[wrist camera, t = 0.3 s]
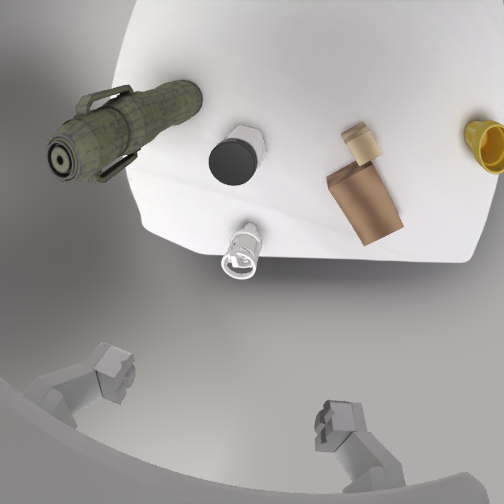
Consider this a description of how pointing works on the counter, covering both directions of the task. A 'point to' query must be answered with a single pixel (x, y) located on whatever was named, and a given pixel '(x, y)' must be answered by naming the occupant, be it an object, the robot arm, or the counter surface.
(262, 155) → the jar
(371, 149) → the oak block
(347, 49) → the counter surface
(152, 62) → the counter surface
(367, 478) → the robot arm
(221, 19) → the counter surface
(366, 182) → the walnut block
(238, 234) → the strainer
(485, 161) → the plant pot
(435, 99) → the counter surface
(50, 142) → the thermos
